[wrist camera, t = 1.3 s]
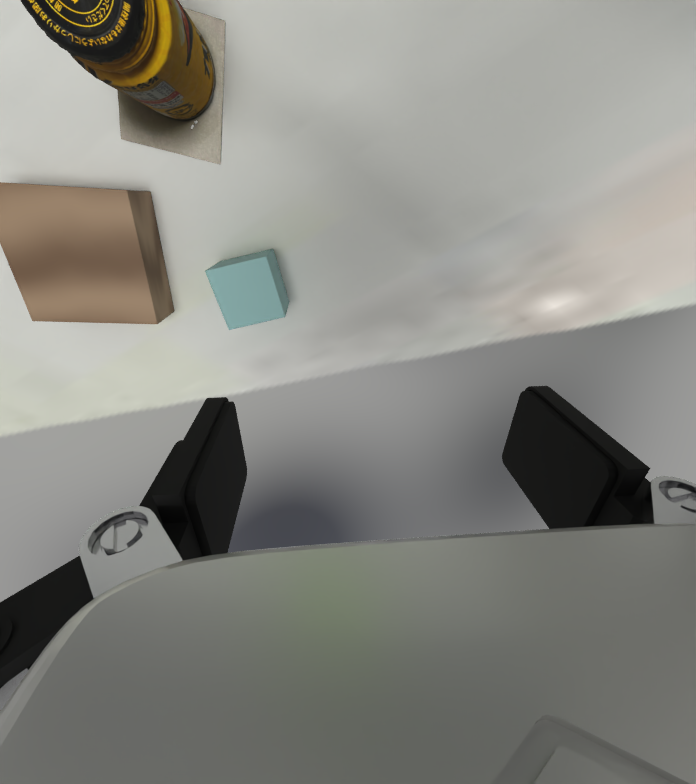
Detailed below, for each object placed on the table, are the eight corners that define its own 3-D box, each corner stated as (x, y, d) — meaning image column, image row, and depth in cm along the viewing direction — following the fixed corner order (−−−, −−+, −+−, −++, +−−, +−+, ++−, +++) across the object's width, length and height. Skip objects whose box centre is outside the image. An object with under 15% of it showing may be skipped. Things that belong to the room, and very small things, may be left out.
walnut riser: (18, 183, 27) (-26, 180, 23) (150, 191, 28) (126, 190, 24) (63, 307, 32) (32, 320, 28) (174, 311, 33) (157, 324, 29)
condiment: (225, 22, 23) (152, -121, 13) (220, 164, 27) (162, 142, 17) (110, -16, 22) (-71, -207, 12) (123, 139, 26) (-5, 99, 16)
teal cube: (220, 261, 31) (205, 271, 27) (273, 248, 31) (266, 256, 27) (240, 313, 34) (229, 329, 29) (289, 301, 33) (285, 316, 29)
